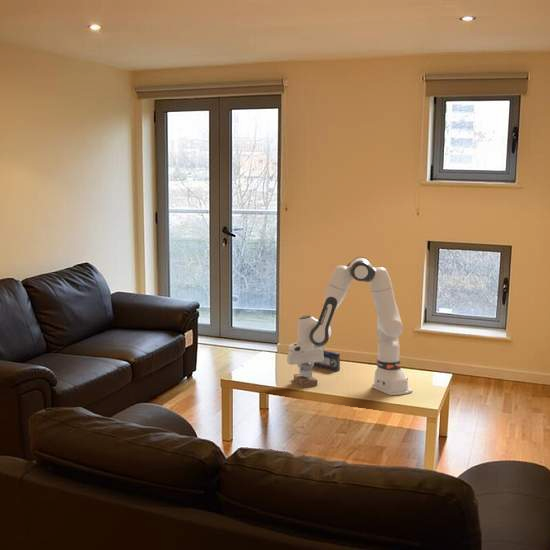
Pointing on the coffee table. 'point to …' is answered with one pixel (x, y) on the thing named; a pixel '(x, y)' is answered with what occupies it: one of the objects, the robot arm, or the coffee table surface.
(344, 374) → the coffee table surface
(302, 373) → the housing
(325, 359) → the vhs cassette tape
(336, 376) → the coffee table surface
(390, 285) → the robot arm
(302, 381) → the walnut stand
